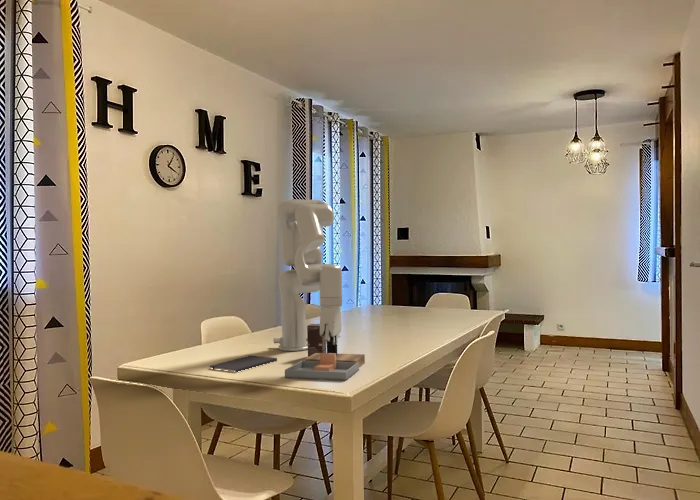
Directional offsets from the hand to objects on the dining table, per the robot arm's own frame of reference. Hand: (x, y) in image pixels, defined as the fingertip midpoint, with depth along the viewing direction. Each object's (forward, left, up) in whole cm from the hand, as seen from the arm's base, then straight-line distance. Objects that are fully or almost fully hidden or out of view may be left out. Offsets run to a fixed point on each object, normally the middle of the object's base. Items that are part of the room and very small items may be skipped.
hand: (332, 356), depth 191 cm
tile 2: (0, -4, -1) cm, 4 cm away
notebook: (-32, -2, -4) cm, 32 cm away
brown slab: (0, +2, -4) cm, 4 cm away
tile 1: (0, -10, -1) cm, 10 cm away
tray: (0, -11, -4) cm, 11 cm away
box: (-11, +15, -4) cm, 19 cm away
